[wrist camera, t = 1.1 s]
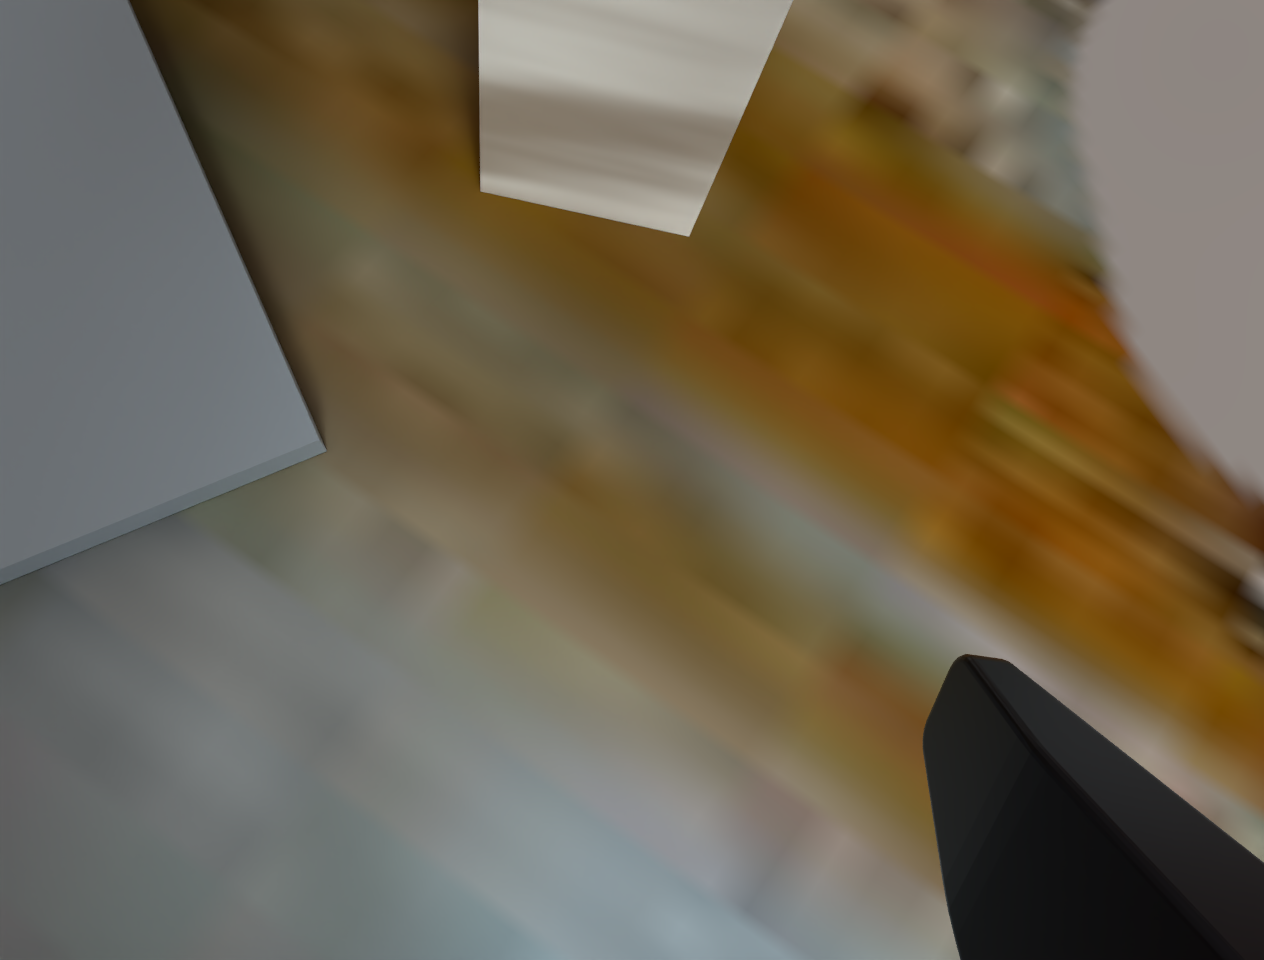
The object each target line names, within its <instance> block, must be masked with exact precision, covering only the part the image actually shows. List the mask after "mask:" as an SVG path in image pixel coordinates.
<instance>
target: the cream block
mask: <svg viewBox="0 0 1264 960" xmlns="http://www.w3.org/2000/svg"><path fill="white" fill-rule="evenodd" d="M792 1H793V0H478V14H479V106H480V191H482V192H486V193H491V194H495V195H500V196H505V197H509V198H514V199H518V200H523V201H528V202H532V203H537V204H541V205H546V206H551V207H555V208H560V209H564V210H569V211H574V212H578V213H583V214H587V215H592V216H597V217H601V218H606V219H611V220H615V221H620V222H624V223H629V224H634V225H638V226H643V227H647V228H652V229H657V230H661V231H666V232H670V233H675V234H680V235H684V236H689V235H690V233H691V231H692V228H693V226H694V224H695V222H696V219H697V217H698V215H699V213H700V210H701V208H702V206H703V203H704V201H705V199H706V197H707V194H708V192H709V190H710V188H711V185H712V183H713V181H714V178H715V176H716V174H717V172H718V169H719V167H720V165H721V163H722V160H723V158H724V156H725V154H726V151H727V149H728V147H729V144H730V142H731V140H732V138H733V135H734V133H735V131H736V129H737V126H738V124H739V122H740V119H741V117H742V115H743V113H744V110H745V108H746V106H747V104H748V101H749V99H750V97H751V94H752V92H753V90H754V88H755V85H756V83H757V81H758V79H759V76H760V74H761V72H762V70H763V67H764V65H765V63H766V60H767V58H768V56H769V54H770V51H771V49H772V47H773V45H774V42H775V40H776V38H777V35H778V33H779V31H780V29H781V26H782V24H783V22H784V20H785V17H786V15H787V13H788V11H789V8H790V6H791V4H792Z"/></svg>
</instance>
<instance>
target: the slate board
mask: <svg viewBox="0 0 1264 960" xmlns="http://www.w3.org/2000/svg"><path fill="white" fill-rule="evenodd" d="M326 451H327V450H326V448H325V445H324V443H323V441H322V439H321V436H320V434H319V432H318V429H317V427H316V425H315V423H314V420H313V418H312V416H311V414H310V411H309V409H308V407H307V404H306V402H305V400H304V398H303V395H302V393H301V391H300V388H299V386H298V384H297V382H296V379H295V377H294V375H293V372H292V370H291V368H290V366H289V363H288V361H287V359H286V357H285V354H284V352H283V350H282V347H281V345H280V343H279V341H278V338H277V336H276V334H275V331H274V329H273V327H272V325H271V322H270V320H269V318H268V315H267V313H266V311H265V309H264V306H263V304H262V302H261V300H260V297H259V295H258V293H257V290H256V288H255V286H254V284H253V281H252V279H251V277H250V274H249V272H248V270H247V268H246V265H245V263H244V261H243V259H242V256H241V254H240V252H239V249H238V247H237V245H236V243H235V240H234V238H233V236H232V233H231V231H230V229H229V227H228V224H227V222H226V220H225V217H224V215H223V213H222V211H221V208H220V206H219V204H218V202H217V199H216V197H215V195H214V192H213V190H212V188H211V186H210V183H209V181H208V179H207V176H206V174H205V172H204V170H203V167H202V165H201V163H200V161H199V158H198V156H197V154H196V151H195V149H194V147H193V145H192V142H191V140H190V138H189V135H188V133H187V131H186V129H185V126H184V124H183V122H182V119H181V117H180V115H179V113H178V110H177V108H176V106H175V104H174V101H173V99H172V97H171V94H170V92H169V90H168V88H167V85H166V83H165V81H164V78H163V76H162V74H161V72H160V69H159V67H158V65H157V62H156V60H155V58H154V56H153V53H152V51H151V49H150V47H149V44H148V42H147V40H146V37H145V35H144V33H143V31H142V28H141V26H140V24H139V21H138V19H137V17H136V15H135V12H134V10H133V8H132V6H131V3H130V1H129V0H0V585H1V584H3V583H6V582H8V581H11V580H13V579H16V578H18V577H21V576H23V575H25V574H28V573H30V572H33V571H35V570H38V569H40V568H43V567H45V566H47V565H50V564H52V563H55V562H57V561H60V560H62V559H65V558H67V557H69V556H72V555H74V554H77V553H79V552H82V551H84V550H87V549H89V548H91V547H94V546H96V545H99V544H101V543H104V542H106V541H109V540H111V539H113V538H116V537H118V536H121V535H123V534H126V533H128V532H131V531H133V530H135V529H138V528H140V527H143V526H145V525H148V524H150V523H153V522H155V521H157V520H160V519H162V518H165V517H167V516H170V515H172V514H175V513H177V512H179V511H182V510H184V509H187V508H189V507H192V506H194V505H197V504H199V503H201V502H204V501H206V500H209V499H211V498H214V497H216V496H218V495H221V494H223V493H226V492H228V491H231V490H233V489H236V488H238V487H240V486H243V485H245V484H248V483H250V482H253V481H255V480H258V479H260V478H262V477H265V476H267V475H270V474H272V473H275V472H277V471H280V470H282V469H284V468H287V467H289V466H292V465H294V464H297V463H299V462H302V461H304V460H306V459H309V458H311V457H314V456H316V455H319V454H321V453H324V452H326Z"/></svg>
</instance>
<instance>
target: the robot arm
mask: <svg viewBox="0 0 1264 960" xmlns="http://www.w3.org/2000/svg"><path fill="white" fill-rule="evenodd" d="M923 754H924V760H925V767H926V773H927V780H928V787H929V793H930V800H931V806H932V813H933V819H934V826H935V833H936V839H937V846H938V852H939V859H940V865H941V872H942V879H943V885H944V890H945V896H946V901H947V907H948V912H949V916H950V920H951V924H952V928H953V933H954V937H955V941H956V944H957V948H958V952H959V956H960V959H961V960H1264V862H1262V861H1261V860H1260V859H1258V858H1257V857H1256V856H1255V855H1253V854H1252V853H1251V852H1250V851H1248V850H1247V849H1246V848H1245V847H1243V846H1242V845H1241V844H1239V843H1238V842H1237V841H1236V840H1234V839H1233V838H1232V837H1231V836H1229V835H1228V834H1227V833H1226V832H1224V831H1223V830H1222V829H1220V828H1219V827H1218V826H1217V825H1215V824H1214V823H1213V822H1212V821H1210V820H1209V819H1208V818H1207V817H1205V816H1204V815H1203V814H1201V813H1200V812H1199V811H1198V810H1196V809H1195V808H1194V807H1193V806H1191V805H1190V804H1189V803H1188V802H1186V801H1185V800H1184V799H1182V798H1181V797H1180V796H1179V795H1177V794H1176V793H1175V792H1174V791H1172V790H1171V789H1170V788H1169V787H1167V786H1166V785H1165V784H1163V783H1162V782H1161V781H1160V780H1158V779H1157V778H1156V777H1155V776H1153V775H1152V774H1151V773H1150V772H1148V771H1147V770H1146V769H1144V768H1143V767H1142V766H1141V765H1139V764H1138V763H1137V762H1136V761H1134V760H1133V759H1132V758H1131V757H1129V756H1128V755H1127V754H1126V753H1124V752H1123V751H1122V750H1120V749H1119V748H1118V747H1117V746H1115V745H1114V744H1113V743H1112V742H1110V741H1109V740H1108V739H1107V738H1105V737H1104V736H1103V735H1101V734H1100V733H1099V732H1098V731H1096V730H1095V729H1094V728H1093V727H1091V726H1090V725H1089V724H1088V723H1086V722H1085V721H1084V720H1082V719H1081V718H1080V717H1079V716H1077V715H1076V714H1075V713H1074V712H1072V711H1071V710H1070V709H1069V708H1067V707H1066V706H1065V705H1063V704H1062V703H1061V702H1060V701H1058V700H1057V699H1056V698H1055V697H1053V696H1052V695H1051V694H1050V693H1048V692H1047V691H1046V690H1045V689H1043V688H1042V687H1041V686H1039V685H1038V684H1037V683H1036V682H1034V681H1033V680H1032V679H1031V678H1029V677H1028V676H1027V675H1026V674H1024V673H1023V672H1022V671H1020V670H1019V669H1018V668H1017V667H1015V666H1014V665H1013V664H1011V663H1010V662H1008V661H1006V660H1003V659H998V658H991V657H984V656H977V655H970V654H965V655H962V656H960V657H958V658H957V659H956V660H955V661H954V662H953V664H952V666H951V667H950V669H949V671H948V674H947V676H946V678H945V680H944V683H943V685H942V687H941V689H940V692H939V694H938V696H937V698H936V701H935V703H934V705H933V707H932V710H931V712H930V714H929V717H928V719H927V721H926V724H925V728H924V733H923Z"/></svg>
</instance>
